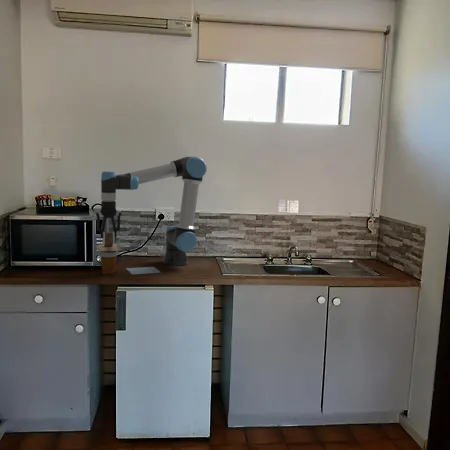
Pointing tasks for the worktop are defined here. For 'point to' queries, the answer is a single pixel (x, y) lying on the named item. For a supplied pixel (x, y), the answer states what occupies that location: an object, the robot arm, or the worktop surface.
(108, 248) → the lid
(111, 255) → the disposable coffee cup
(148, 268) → the mat
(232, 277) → the worktop surface
